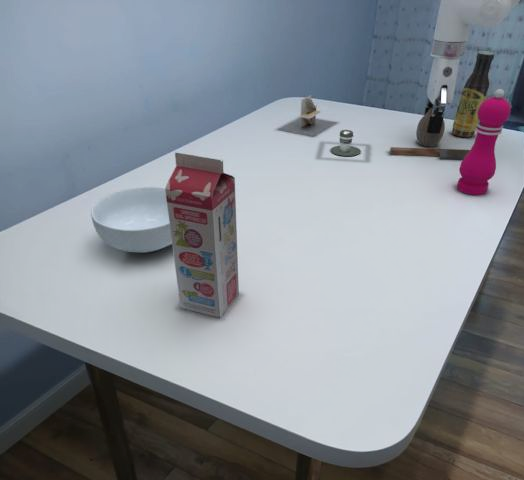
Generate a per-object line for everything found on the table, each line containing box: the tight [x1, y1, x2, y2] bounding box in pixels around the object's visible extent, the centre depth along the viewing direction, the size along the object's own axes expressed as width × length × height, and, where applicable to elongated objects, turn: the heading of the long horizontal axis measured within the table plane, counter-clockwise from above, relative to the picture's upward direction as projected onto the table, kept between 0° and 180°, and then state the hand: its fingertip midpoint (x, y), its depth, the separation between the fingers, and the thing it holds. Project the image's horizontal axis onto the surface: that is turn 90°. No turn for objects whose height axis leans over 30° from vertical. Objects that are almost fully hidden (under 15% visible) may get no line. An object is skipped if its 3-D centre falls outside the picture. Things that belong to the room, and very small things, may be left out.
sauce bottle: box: [451, 50, 496, 138], centre depth 130 cm, size 6×6×20 cm
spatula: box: [389, 146, 471, 161], centre depth 124 cm, size 21×6×1 cm, turn 84°
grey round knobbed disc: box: [329, 129, 362, 157], centre depth 125 cm, size 12×12×5 cm
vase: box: [415, 107, 446, 148], centre depth 128 cm, size 7×7×9 cm
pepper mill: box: [456, 88, 512, 196], centre depth 102 cm, size 7×7×20 cm
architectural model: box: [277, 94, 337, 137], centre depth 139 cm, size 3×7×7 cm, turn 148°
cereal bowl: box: [90, 186, 172, 254], centre depth 88 cm, size 17×17×7 cm
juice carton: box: [164, 152, 240, 319], centre depth 69 cm, size 7×7×22 cm
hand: (431, 127), depth 128 cm, fingers closed on vase, 6 cm apart
